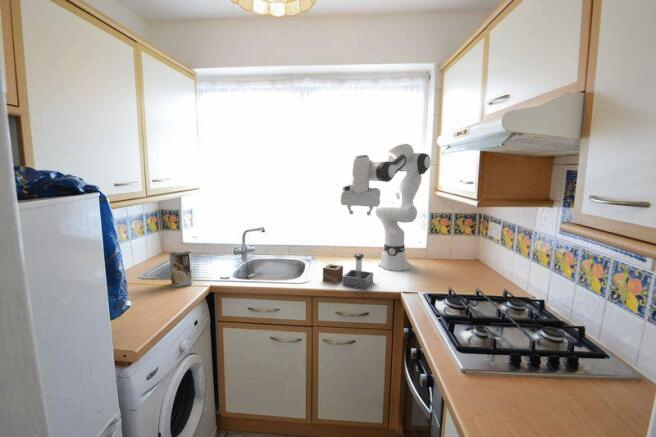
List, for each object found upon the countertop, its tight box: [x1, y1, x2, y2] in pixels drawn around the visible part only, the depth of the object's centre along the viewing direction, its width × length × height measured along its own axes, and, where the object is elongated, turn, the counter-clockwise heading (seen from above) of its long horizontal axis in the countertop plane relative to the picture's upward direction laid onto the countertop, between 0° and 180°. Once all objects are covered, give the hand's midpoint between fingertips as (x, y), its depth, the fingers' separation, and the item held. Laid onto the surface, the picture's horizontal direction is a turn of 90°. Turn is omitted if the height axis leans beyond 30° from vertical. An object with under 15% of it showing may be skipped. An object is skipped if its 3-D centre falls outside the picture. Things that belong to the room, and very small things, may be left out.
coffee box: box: [169, 251, 194, 288], centre depth 155 cm, size 9×6×16 cm
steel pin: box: [354, 253, 365, 278], centre depth 158 cm, size 5×5×14 cm
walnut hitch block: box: [322, 263, 344, 284], centre depth 165 cm, size 8×8×7 cm
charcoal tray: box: [342, 269, 374, 290], centre depth 159 cm, size 12×12×5 cm
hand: (359, 214), depth 161 cm, fingers open, 8 cm apart
